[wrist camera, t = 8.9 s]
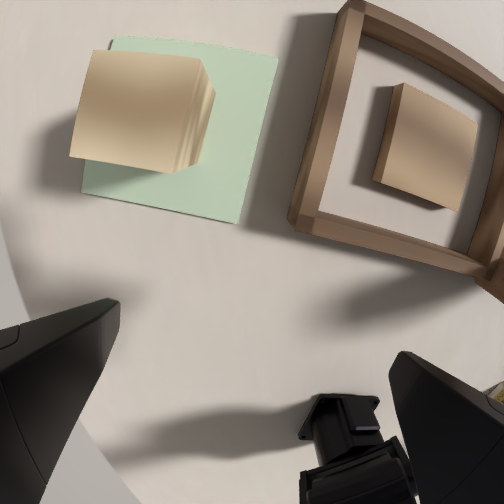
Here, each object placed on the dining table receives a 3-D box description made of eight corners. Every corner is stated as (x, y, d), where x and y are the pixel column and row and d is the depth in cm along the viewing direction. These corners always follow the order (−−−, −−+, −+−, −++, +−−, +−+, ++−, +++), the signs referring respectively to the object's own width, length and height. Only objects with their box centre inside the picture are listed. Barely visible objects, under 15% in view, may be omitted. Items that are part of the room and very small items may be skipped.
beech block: (198, 162, 19) (171, 174, 11) (131, 150, 18) (69, 156, 11) (215, 93, 17) (199, 58, 10) (147, 82, 17) (93, 49, 9)
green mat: (238, 222, 20) (237, 224, 20) (83, 191, 19) (81, 192, 19) (278, 59, 17) (279, 58, 17) (116, 37, 16) (114, 36, 15)
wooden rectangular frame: (469, 267, 22) (490, 281, 20) (286, 218, 20) (294, 230, 18) (509, 107, 18) (532, 107, 15) (337, 12, 16) (351, -5, 13)
